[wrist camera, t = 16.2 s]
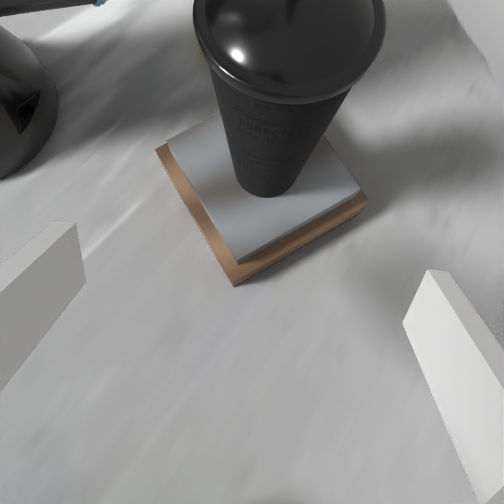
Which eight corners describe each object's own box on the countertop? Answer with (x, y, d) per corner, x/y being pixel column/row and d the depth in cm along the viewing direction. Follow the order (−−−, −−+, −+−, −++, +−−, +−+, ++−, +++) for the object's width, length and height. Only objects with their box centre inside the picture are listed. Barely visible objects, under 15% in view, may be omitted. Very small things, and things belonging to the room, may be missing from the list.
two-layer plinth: (162, 165, 32) (148, 136, 27) (282, 104, 34) (289, 66, 29) (233, 287, 30) (232, 278, 25) (357, 214, 32) (379, 193, 27)
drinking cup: (241, 232, 26) (241, -77, 6) (200, 146, 27) (100, -322, 8) (332, 193, 27) (580, -184, 7) (288, 111, 28) (396, -384, 9)
